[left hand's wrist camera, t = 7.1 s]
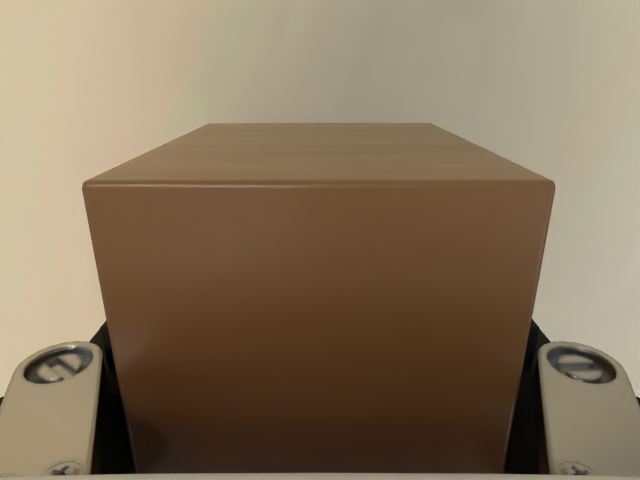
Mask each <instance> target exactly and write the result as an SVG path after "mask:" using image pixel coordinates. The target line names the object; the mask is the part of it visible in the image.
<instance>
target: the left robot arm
mask: <svg viewBox="0 0 640 480" xmlns="http://www.w3.org/2000/svg"><path fill="white" fill-rule="evenodd" d="M0 480H640V398H639V397H636V396H635V393H634V391H633V388H632V386H631V383H630V380H629V378H628V375H627V373H626V371H625V370H624V368H623V367H622V365H621V364H620V363H619V362H617V361H616V360H615V359H614V358H613V357H611V356H609V355H608V354H606V353H604V352H602V351H600V350H598V349H595V348H593V347H590V346H587V345H583V344H579V343H575V342H565V341H559V342H550V341H549V340H548V338H547V337H546V336H545V335H544V334H543V332H542V331H541V330H540V329H539V327H538V326H537V324H536V323H535V322H534V321H533V320H532V319H531V325H530V330H529V336H528V341H527V347H526V352H525V358H524V363H523V369H522V374H521V380H520V385H519V391H518V396H517V402H516V407H515V413H514V418H513V424H512V429H511V435H510V440H509V446H508V451H507V457H506V462H505V468H504V473H503V474H460V473H180V474H135V470H134V465H133V459H132V454H131V448H130V443H129V438H128V432H127V427H126V422H125V416H124V411H123V405H122V400H121V395H120V389H119V384H118V379H117V373H116V368H115V362H114V357H113V352H112V346H111V341H110V336H109V330H108V325H107V320H106V322H105V323H104V324H103V325H102V326H101V328H100V329H99V331H98V332H97V333H96V334H95V336H94V337H93V338H92V339H91V340H90V342H81V341H75V342H65V343H61V344H57V345H53V346H50V347H47V348H45V349H42V350H40V351H38V352H36V353H34V354H32V355H31V356H29V357H27V358H26V359H25V360H24V361H23V362H21V363H20V364H19V365H18V367H17V368H16V370H15V371H14V373H13V375H12V378H11V380H10V383H9V386H8V388H7V391H6V393H5V396H4V397H1V398H0Z"/></svg>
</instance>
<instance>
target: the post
mask: <svg viewBox="0 0 640 480" xmlns="http://www.w3.org/2000/svg"><path fill="white" fill-rule="evenodd" d="M82 191H83V196H84V201H85V207H86V212H87V217H88V223H89V228H90V234H91V239H92V244H93V250H94V255H95V260H96V266H97V271H98V277H99V282H100V287H101V293H102V298H103V303H104V309H105V314H106V319H107V325H108V330H109V336H110V341H111V346H112V352H113V357H114V362H115V368H116V373H117V379H118V384H119V389H120V395H121V400H122V405H123V411H124V416H125V422H126V427H127V432H128V438H129V443H130V448H131V454H132V459H133V465H134V470H135V474H180V473H460V474H503V473H504V468H505V462H506V457H507V451H508V446H509V440H510V435H511V429H512V424H513V418H514V413H515V407H516V402H517V396H518V391H519V385H520V380H521V374H522V369H523V363H524V358H525V352H526V347H527V341H528V336H529V330H530V325H531V319H532V314H533V308H534V303H535V297H536V292H537V286H538V281H539V275H540V270H541V264H542V259H543V253H544V248H545V242H546V237H547V231H548V226H549V220H550V215H551V209H552V204H553V198H554V193H555V183H554V181H551V180H549V179H547V178H545V177H543V176H541V175H539V174H537V173H535V172H532V171H530V170H528V169H526V168H524V167H522V166H520V165H518V164H515V163H513V162H511V161H509V160H507V159H505V158H503V157H501V156H499V155H496V154H494V153H492V152H490V151H488V150H486V149H484V148H482V147H479V146H477V145H475V144H473V143H471V142H469V141H467V140H465V139H463V138H460V137H458V136H456V135H454V134H452V133H450V132H448V131H446V130H443V129H441V128H439V127H437V126H435V125H433V124H431V123H224V124H207V125H205V126H203V127H200V128H198V129H196V130H194V131H192V132H190V133H188V134H185V135H183V136H181V137H179V138H177V139H175V140H173V141H170V142H168V143H166V144H164V145H162V146H160V147H158V148H155V149H153V150H151V151H149V152H147V153H145V154H143V155H140V156H138V157H136V158H134V159H132V160H130V161H128V162H125V163H123V164H121V165H119V166H117V167H115V168H113V169H110V170H108V171H106V172H104V173H102V174H100V175H98V176H95V177H93V178H91V179H89V180H87V181H85V182H84V183H83V187H82Z"/></svg>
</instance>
